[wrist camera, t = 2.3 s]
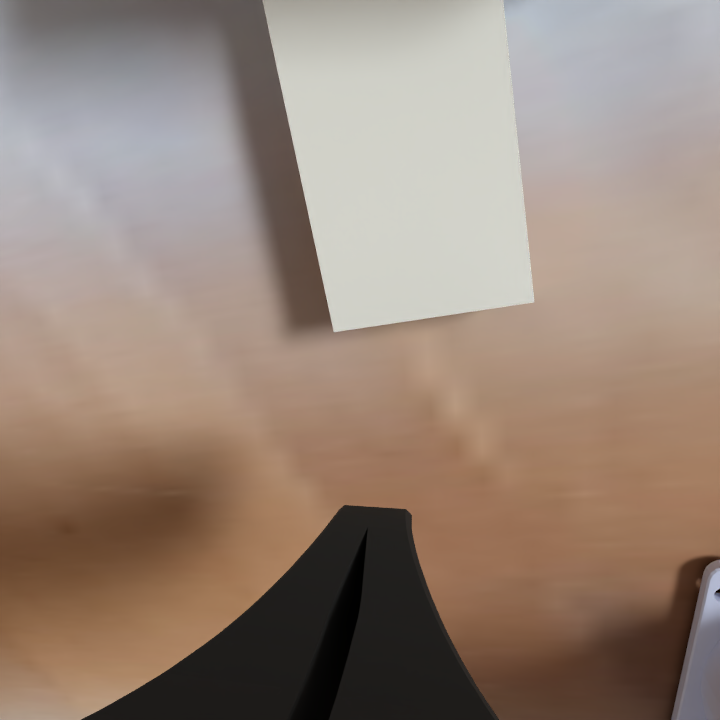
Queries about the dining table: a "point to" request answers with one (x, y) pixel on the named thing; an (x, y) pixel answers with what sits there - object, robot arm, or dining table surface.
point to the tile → (405, 154)
